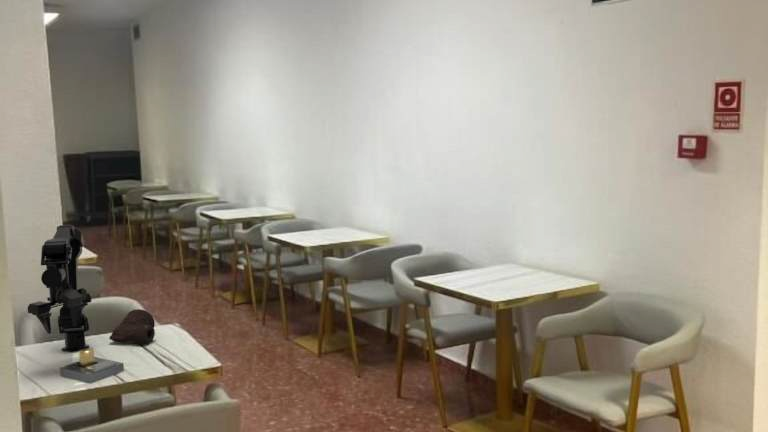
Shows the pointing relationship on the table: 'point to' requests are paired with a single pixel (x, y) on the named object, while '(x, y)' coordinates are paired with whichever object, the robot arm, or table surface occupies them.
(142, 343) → the dark brown rounded lump
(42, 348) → the table surface
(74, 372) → the metal square frame
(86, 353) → the tan rectangular block
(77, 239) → the robot arm
